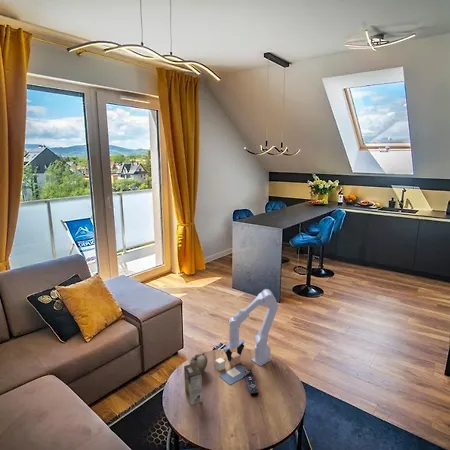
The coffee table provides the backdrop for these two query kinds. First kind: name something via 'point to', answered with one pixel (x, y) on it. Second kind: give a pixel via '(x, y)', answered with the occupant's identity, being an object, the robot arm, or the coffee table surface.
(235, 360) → the terracotta block
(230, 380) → the blueprint board
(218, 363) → the cream block
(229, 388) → the coffee table surface
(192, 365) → the coffee box
